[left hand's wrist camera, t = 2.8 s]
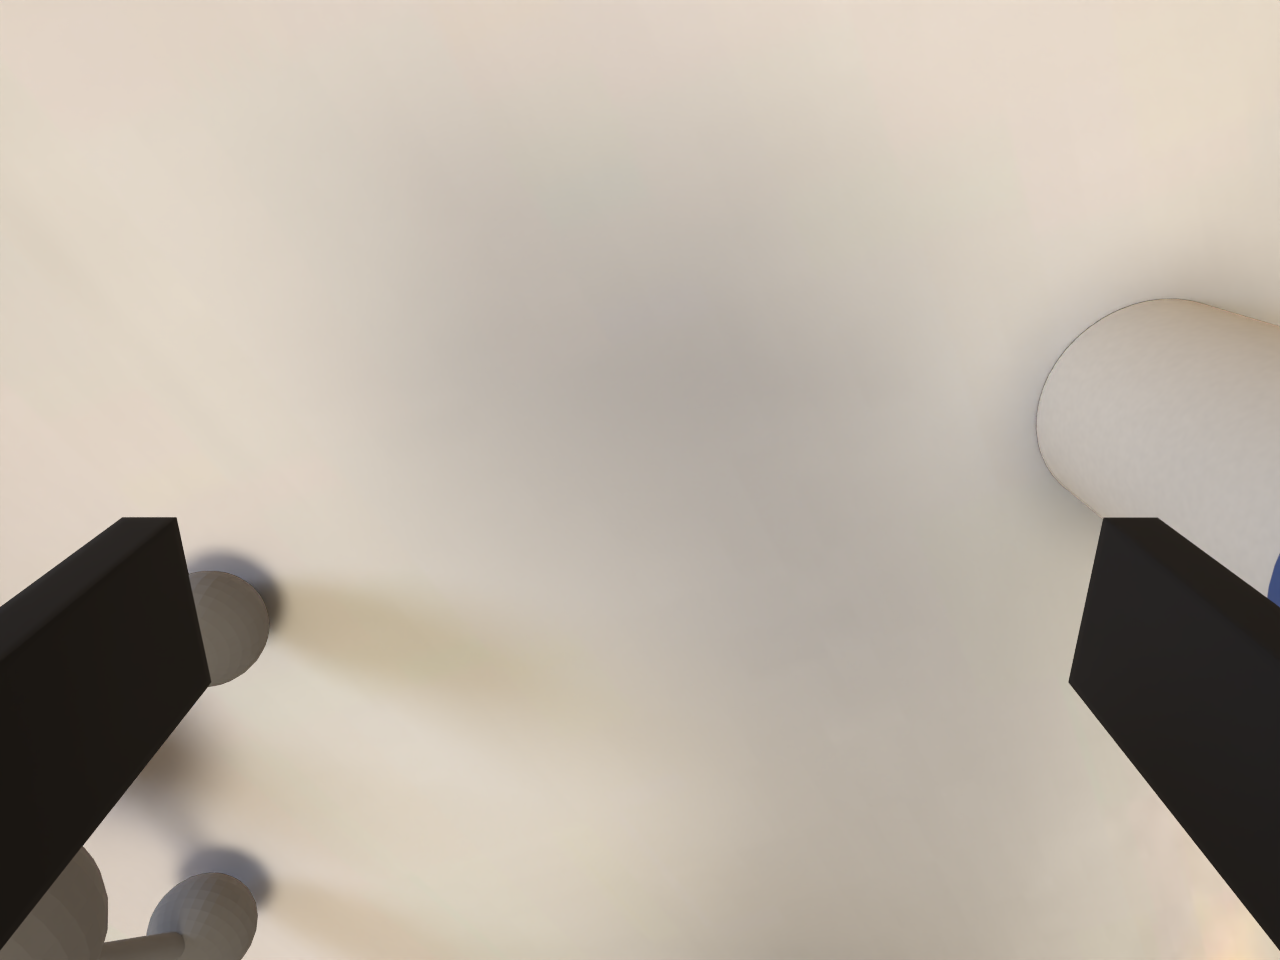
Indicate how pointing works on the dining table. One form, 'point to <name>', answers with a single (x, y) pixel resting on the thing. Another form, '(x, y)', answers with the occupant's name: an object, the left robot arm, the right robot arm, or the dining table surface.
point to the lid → (1275, 584)
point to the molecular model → (201, 905)
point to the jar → (1174, 427)
